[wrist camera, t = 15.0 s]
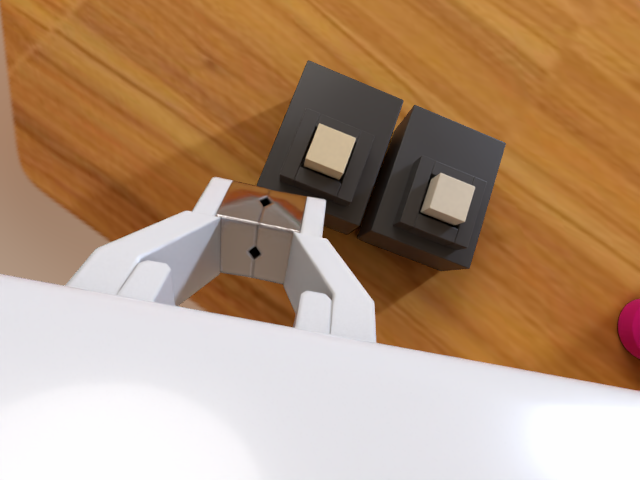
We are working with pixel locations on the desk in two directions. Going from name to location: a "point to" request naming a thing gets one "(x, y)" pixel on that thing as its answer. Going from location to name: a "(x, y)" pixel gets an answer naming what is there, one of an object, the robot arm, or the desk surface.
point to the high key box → (342, 115)
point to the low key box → (412, 184)
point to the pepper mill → (630, 327)
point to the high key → (329, 151)
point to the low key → (448, 199)
